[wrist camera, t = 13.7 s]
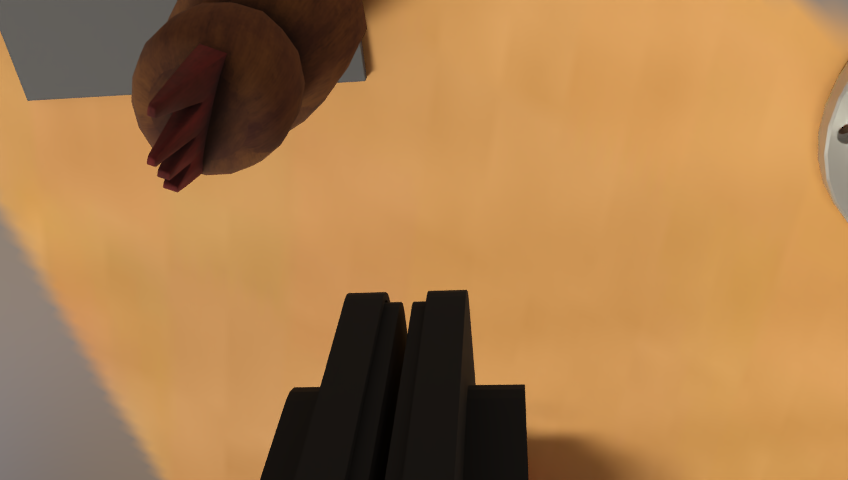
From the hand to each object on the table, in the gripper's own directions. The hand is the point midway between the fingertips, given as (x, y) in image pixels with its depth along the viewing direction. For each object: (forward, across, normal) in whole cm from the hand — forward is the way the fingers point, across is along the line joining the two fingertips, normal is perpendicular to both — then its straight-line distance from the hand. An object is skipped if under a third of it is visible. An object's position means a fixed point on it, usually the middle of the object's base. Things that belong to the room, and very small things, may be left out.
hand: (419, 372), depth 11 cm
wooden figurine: (+22, +7, 0) cm, 23 cm away
